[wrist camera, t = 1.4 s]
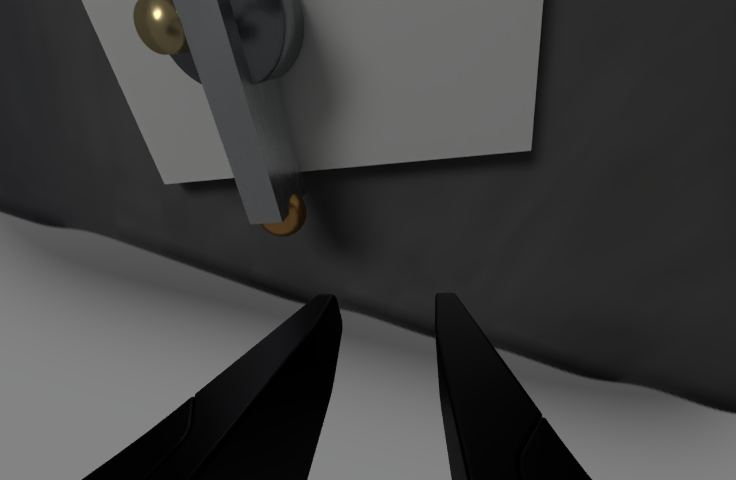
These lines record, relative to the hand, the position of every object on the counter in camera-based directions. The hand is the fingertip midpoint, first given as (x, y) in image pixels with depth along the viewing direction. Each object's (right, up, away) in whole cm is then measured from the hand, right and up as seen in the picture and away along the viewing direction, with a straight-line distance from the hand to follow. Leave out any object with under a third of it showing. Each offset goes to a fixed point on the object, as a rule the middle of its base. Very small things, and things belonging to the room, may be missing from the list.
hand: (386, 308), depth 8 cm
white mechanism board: (-4, +13, +7) cm, 15 cm away
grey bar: (-6, +10, +7) cm, 14 cm away
